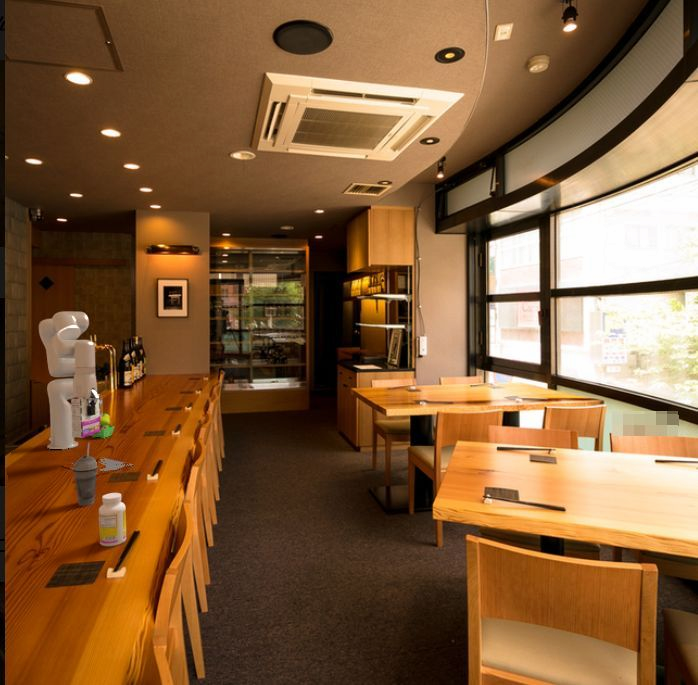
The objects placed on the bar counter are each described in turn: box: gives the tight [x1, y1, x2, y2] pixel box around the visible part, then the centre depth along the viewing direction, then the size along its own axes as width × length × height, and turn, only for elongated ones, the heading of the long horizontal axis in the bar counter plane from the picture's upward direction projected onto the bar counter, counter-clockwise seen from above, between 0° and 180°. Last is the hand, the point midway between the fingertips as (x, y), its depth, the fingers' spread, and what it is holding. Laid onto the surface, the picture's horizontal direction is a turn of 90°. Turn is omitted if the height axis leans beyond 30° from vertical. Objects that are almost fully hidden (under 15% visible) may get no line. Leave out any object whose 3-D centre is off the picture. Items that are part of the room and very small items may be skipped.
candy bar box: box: [70, 393, 101, 439], centre depth 213 cm, size 11×5×16 cm, turn 168°
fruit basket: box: [91, 413, 115, 439], centre depth 261 cm, size 11×9×11 cm
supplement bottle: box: [98, 492, 127, 547], centre depth 140 cm, size 7×7×13 cm
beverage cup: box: [72, 442, 98, 507], centre depth 168 cm, size 7×7×20 cm
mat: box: [70, 457, 134, 471], centre depth 210 cm, size 24×16×1 cm, turn 60°
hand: (86, 414), depth 213 cm, fingers closed on candy bar box, 6 cm apart
